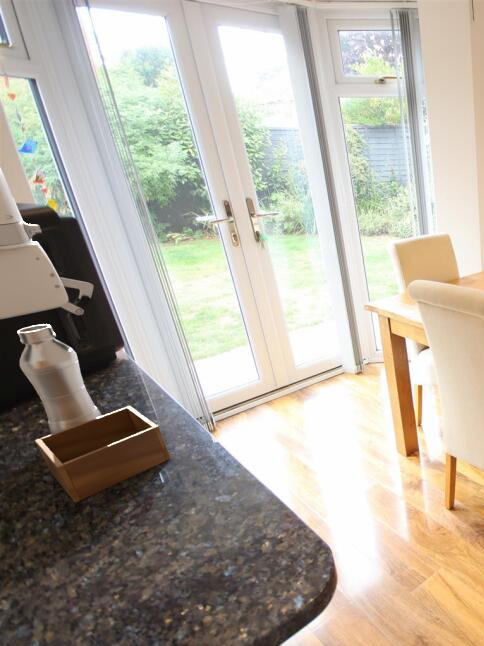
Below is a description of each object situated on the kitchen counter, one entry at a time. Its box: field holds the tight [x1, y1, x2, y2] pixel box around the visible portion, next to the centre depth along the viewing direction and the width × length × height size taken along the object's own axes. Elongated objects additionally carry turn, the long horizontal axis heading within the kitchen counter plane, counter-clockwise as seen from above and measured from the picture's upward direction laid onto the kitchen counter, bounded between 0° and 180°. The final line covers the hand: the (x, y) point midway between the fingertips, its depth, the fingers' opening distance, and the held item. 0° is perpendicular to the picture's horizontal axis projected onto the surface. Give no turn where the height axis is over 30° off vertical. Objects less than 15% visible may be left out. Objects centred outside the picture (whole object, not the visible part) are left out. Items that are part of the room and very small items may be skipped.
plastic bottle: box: [17, 323, 103, 435], centre depth 75 cm, size 6×7×20 cm
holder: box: [34, 405, 172, 504], centre depth 70 cm, size 12×12×6 cm
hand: (42, 347), depth 72 cm, fingers open, 9 cm apart
